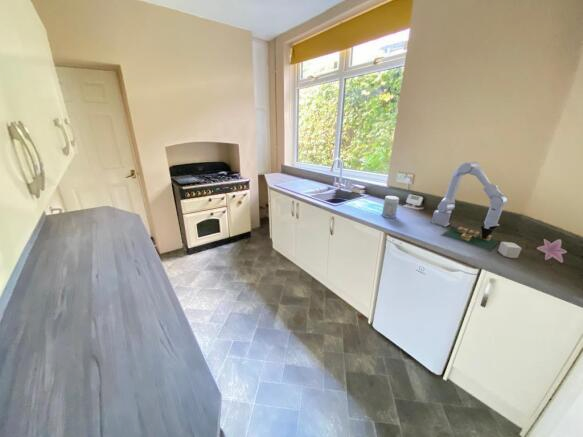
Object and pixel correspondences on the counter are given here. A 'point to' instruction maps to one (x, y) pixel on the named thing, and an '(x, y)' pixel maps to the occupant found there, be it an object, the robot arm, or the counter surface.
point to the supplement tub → (390, 206)
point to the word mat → (474, 241)
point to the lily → (552, 250)
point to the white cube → (509, 249)
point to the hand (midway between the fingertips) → (485, 236)
